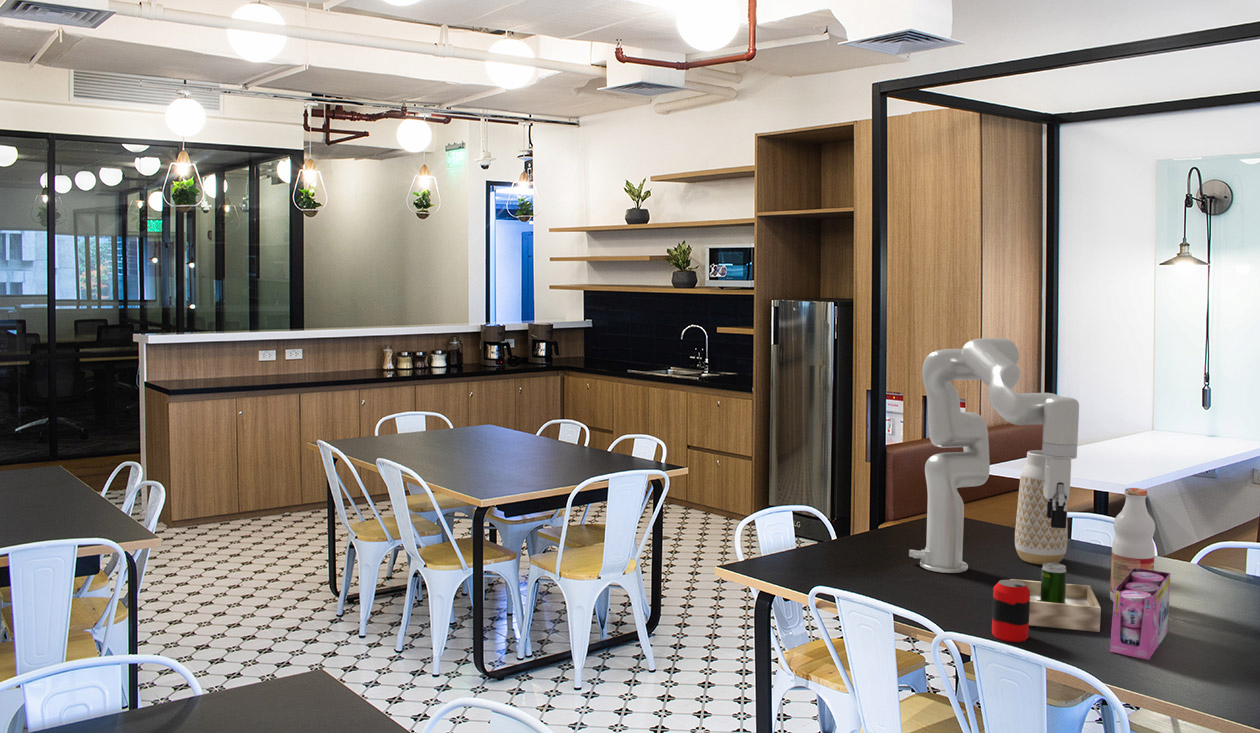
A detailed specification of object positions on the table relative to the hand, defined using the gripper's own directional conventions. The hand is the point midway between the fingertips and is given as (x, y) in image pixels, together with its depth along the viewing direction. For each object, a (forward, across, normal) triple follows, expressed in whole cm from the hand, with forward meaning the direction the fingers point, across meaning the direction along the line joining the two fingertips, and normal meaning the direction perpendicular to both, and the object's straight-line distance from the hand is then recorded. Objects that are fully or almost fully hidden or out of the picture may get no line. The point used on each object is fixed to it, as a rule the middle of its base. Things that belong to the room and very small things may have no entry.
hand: (1056, 522), depth 243 cm
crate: (+22, 0, 0) cm, 22 cm away
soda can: (+22, +19, -10) cm, 31 cm away
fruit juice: (+22, -17, +20) cm, 34 cm away
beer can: (+22, 0, 0) cm, 22 cm away
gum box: (+22, +13, +17) cm, 31 cm away
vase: (+22, -51, +2) cm, 56 cm away
